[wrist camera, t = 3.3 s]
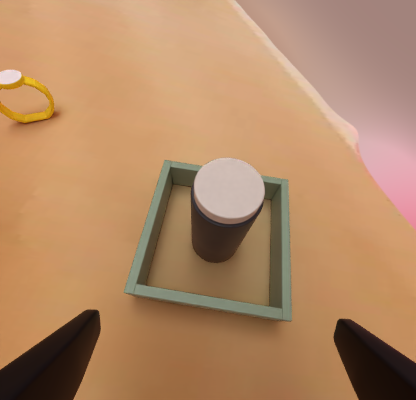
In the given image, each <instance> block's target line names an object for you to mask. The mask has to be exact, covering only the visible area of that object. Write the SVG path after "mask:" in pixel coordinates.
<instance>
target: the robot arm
mask: <svg viewBox="0 0 416 400" xmlns="http://www.w3.org/2000/svg"><path fill="white" fill-rule="evenodd" d="M100 330H101V326H100V315H99V311H98V310H85V311H84V312H82V313H81V314H80V315H78V316H77V317H75V318H74V319H72V320H71V321H69V322H68V323H67V324H65V325H64V326H62V327H61V328H59V329H58V330H57V331H55V332H54V333H52V334H51V335H49V336H48V337H47V338H45V339H44V340H42V341H41V342H39V343H38V344H37V345H35V346H34V347H32V348H31V349H29V350H28V351H27V352H25V353H24V354H22V355H21V356H19V357H18V358H17V359H15V360H14V361H12V362H11V363H9V364H8V365H7V366H5V367H4V368H2V369H1V370H0V400H73V399H74V397H75V395H76V393H77V390H78V388H79V386H80V384H81V382H82V379H83V377H84V374H85V372H86V369H87V366H88V364H89V361H90V358H91V356H92V353H93V350H94V348H95V345H96V342H97V340H98V337H99V334H100ZM334 342H335V345H336V347H337V350H338V352H339V355H340V357H341V360H342V362H343V364H344V367H345V369H346V372H347V374H348V377H349V379H350V381H351V384H352V386H353V388H354V390H355V392H356V394H357V397H358V399H359V400H416V363H415V362H413V361H412V360H410V359H409V358H407V357H406V356H404V355H403V354H401V353H400V352H398V351H397V350H395V349H394V348H393V347H391V346H390V345H388V344H387V343H385V342H384V341H382V340H381V339H379V338H378V337H376V336H375V335H373V334H372V333H370V332H369V331H367V330H366V329H364V328H363V327H361V326H360V325H358V324H357V323H355V322H354V321H352V320H350V319H339V320H338V321H337V325H336V329H335V332H334Z"/></svg>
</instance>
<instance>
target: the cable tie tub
mask: <svg viewBox="0 0 416 400" xmlns="http://www.w3.org/2000/svg"><path fill="white" fill-rule="evenodd" d="M264 195H265V187H264V183H263V180H262V178H261V176H260V174H259V173H258V172H257V171H256V169H255V168H253V167H252V166H251V165H249V164H248V163H246V162H244V161H242V160H239V159H235V158H219V159H215V160H212V161H210V162H208V163H207V164H205V165H204V166H203V167H202V168H201V169H200V170H199V171H198V173H197V175H196V177H195V180H194V182H193V185H192V188H191V225H192V245H193V248H194V250H195V252H196V253H197V254H198V255H199V256H200V257H201V258H202V259H204V260H206V261H208V262H214V263H218V262H223V261H225V260H227V259H229V258H230V257H231V256H232V255H233V254H234V253H235V251H236V250H237V248H238V247H239V245H240V243H241V242H242V240H243V239H244V237H245V235H246V234H247V232H248V231H249V229H250V227H251V226H252V224H253V223H254V221H255V219H256V218H257V216H258V215H259V213H260V211H261V209H262V206H263V201H264Z"/></svg>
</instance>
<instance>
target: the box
mask: <svg viewBox="0 0 416 400" xmlns="http://www.w3.org/2000/svg"><path fill="white" fill-rule="evenodd" d="M202 167H203V166H199V165H193V164H187V163H180V162H174V161H169V160H165V161H164V164H163V167H162V170H161V174H160V177H159V180H158V183H157V186H156V190H155V193H154V196H153V199H152V203H151V206H150V209H149V212H148V215H147V219H146V222H145V225H144V228H143V231H142V235H141V238H140V241H139V244H138V248H137V251H136V254H135V257H134V260H133V264H132V267H131V270H130V273H129V277H128V280H127V283H126V286H125V289H124V293H126V294H129V295H132V296H135V297H141V298H147V299H152V300H158V301H164V302H170V303H175V304H181V305H187V306H193V307H199V308H204V309H210V310H216V311H222V312H228V313H233V314H239V315H245V316H251V317H257V318H262V319H268V320H274V321H292V305H291V265H290V226H289V186H288V180H287V179H281V178H275V177H268V176H262V175H260V176H261V178H262V180H263V183H264V187H265V195H264V199H270V200H271V245H270V300H269V306H263V305H257V304H251V303H245V302H240V301H234V300H228V299H222V298H216V297H210V296H205V295H199V294H193V293H187V292H181V291H175V290H170V289H164V288H158V287H152V286H146V281H147V277H148V273H149V270H150V266H151V262H152V259H153V255H154V251H155V248H156V244H157V240H158V237H159V233H160V229H161V226H162V222H163V218H164V214H165V211H166V207H167V203H168V200H169V196H170V192H171V189H172V185H173V184H177V185H183V186H190V187H192V185H193V182H194V180H195V177H196V175H197V173H198V171H199V170H200V169H201V168H202Z"/></svg>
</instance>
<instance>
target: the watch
mask: <svg viewBox="0 0 416 400" xmlns="http://www.w3.org/2000/svg"><path fill="white" fill-rule="evenodd" d="M23 84H24V85H28V86H31V87H35V88H36V89H38V90H39V91H41V92H42V93H44V94H45V95H46V97H47V98H48V100H49V107H48V108H47V109H46V111H45V112H39V113H33V114H27V115H22V114H19V113H16V112H12V111H11V110H10V109H8V108H7V107H5V106H4V105H2V103H1V102H0V112H1V113H2V114H4V115H6V116H7V117H9V118H10V119H12V120H15V121H19V122H22V123H27V122H33V121H38V120H43V119H49V118H50V117H51V115H52V114H53V113H54V101H53V98H52V95H51V94H50V92H49V91H48V89H47V88H46V87H45V86H44V85H42V84H41V83H39V82H38V81H37V80H34V79H32V78H29V77H26V76H23V75H22V73H20V72H19V71H17V70H5V71H2V72H0V90H1V89H2V88H3V89H15V88H18V87H20V86H22V85H23Z"/></svg>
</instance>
